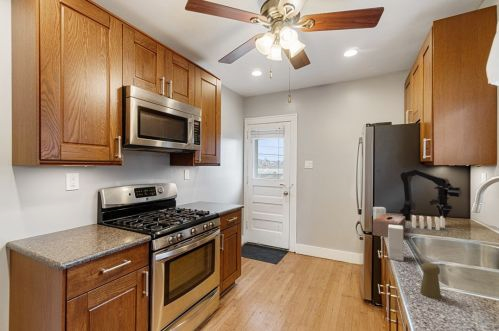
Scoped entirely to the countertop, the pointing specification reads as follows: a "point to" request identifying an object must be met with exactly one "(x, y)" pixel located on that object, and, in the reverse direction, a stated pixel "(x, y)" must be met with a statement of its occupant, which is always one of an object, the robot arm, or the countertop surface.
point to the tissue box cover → (386, 224)
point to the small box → (378, 211)
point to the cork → (430, 281)
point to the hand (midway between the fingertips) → (442, 216)
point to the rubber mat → (427, 228)
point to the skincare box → (395, 242)
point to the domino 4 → (442, 221)
